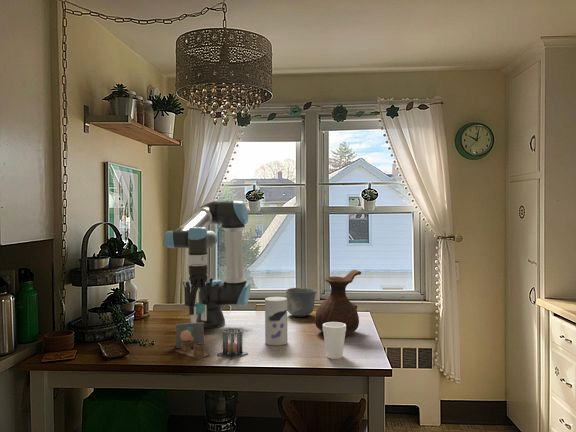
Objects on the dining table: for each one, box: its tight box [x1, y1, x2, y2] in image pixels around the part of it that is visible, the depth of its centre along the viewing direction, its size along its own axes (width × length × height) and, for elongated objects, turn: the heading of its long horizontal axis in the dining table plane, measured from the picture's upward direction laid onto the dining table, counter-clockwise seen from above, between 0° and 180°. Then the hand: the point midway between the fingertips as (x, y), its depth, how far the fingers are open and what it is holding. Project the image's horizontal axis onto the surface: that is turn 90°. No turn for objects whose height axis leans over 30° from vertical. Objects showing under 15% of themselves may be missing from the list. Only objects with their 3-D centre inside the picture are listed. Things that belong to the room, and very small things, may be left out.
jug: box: [314, 269, 362, 337], centre depth 231 cm, size 22×22×30 cm
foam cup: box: [322, 322, 346, 360], centre depth 195 cm, size 10×9×13 cm
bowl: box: [285, 287, 317, 318], centre depth 268 cm, size 18×18×15 cm
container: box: [264, 296, 288, 346], centre depth 215 cm, size 10×10×20 cm
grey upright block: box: [175, 322, 205, 349], centre depth 212 cm, size 5×12×10 cm, turn 102°
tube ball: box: [227, 341, 237, 353], centre depth 198 cm, size 5×5×5 cm
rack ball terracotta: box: [180, 330, 191, 341], centre depth 203 cm, size 5×5×5 cm
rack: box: [175, 340, 211, 360], centre depth 200 cm, size 16×6×5 cm, turn 47°
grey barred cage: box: [216, 327, 249, 360], centre depth 198 cm, size 9×9×10 cm
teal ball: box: [194, 302, 204, 315], centre depth 197 cm, size 5×5×5 cm
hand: (198, 321), depth 197 cm, fingers closed on teal ball, 4 cm apart
